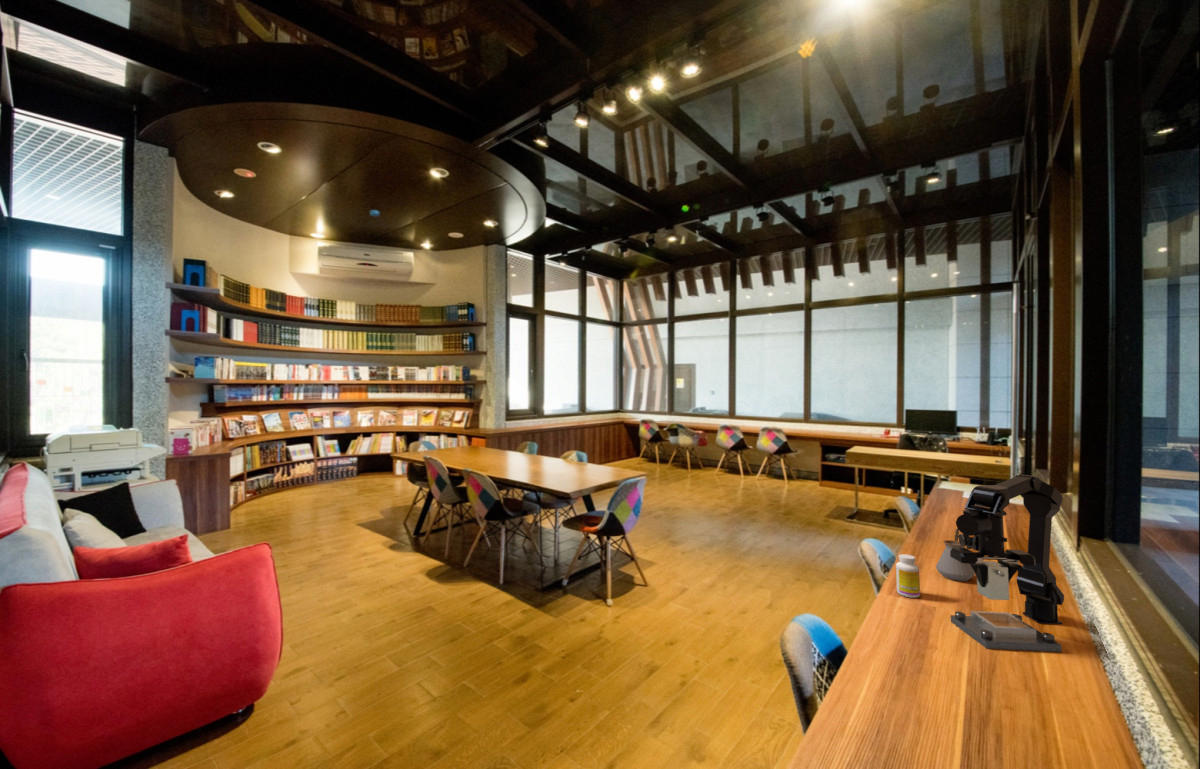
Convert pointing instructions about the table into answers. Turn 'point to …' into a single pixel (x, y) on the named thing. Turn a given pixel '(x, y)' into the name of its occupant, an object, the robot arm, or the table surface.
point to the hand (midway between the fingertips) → (992, 586)
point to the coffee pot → (954, 563)
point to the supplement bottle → (907, 576)
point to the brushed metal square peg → (995, 581)
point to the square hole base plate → (1004, 632)
